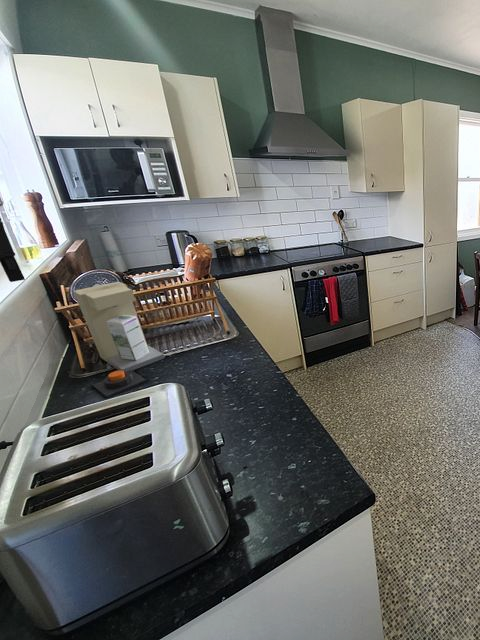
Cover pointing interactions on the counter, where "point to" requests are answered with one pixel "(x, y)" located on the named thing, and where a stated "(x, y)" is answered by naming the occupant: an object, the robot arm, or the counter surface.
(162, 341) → the counter surface
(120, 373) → the button
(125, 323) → the syrup box
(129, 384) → the control block
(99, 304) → the coffee machine
